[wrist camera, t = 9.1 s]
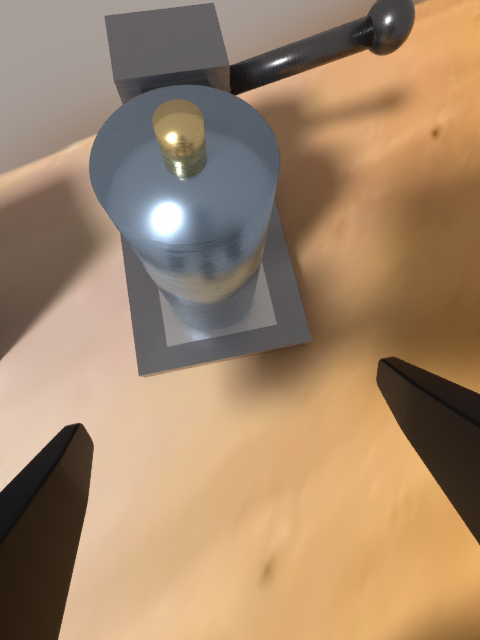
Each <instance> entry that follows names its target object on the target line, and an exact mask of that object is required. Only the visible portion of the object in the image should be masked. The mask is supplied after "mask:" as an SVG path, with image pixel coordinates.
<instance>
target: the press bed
mask: <svg viewBox="0 0 480 640" xmlns="http://www.w3.org/2000/svg"><path fill="white" fill-rule="evenodd" d="M414 20H415V7H414V3H413V1H412V0H377V1H376V3H375V4H374V5H373V6H372V8H371V10H370V11H369V13H368V15H367V16H366V17H363V18H360V19H357V20H355V21H352V22H349V23H346V24H344V25H341V26H338V27H335V28H333V29H330V30H327V31H324V32H322V33H319V34H316V35H314V36H311V37H308V38H305V39H302V40H300V41H297V42H294V43H291V44H288V45H286V46H283V47H280V48H277V49H275V50H272V51H269V52H266V53H264V54H261V55H258V56H255V57H253V58H250V59H247V60H244V61H242V62H239V63H236V64H233V65H231V66H230V65H229V61H228V57H227V53H226V50H225V45H224V42H223V38H222V34H221V30H220V26H219V22H218V18H217V14H216V10H215V6H214V3H209V4H200V5H192V6H183V7H176V8H167V9H159V10H151V11H142V12H133V13H125V14H117V15H108V16H105V22H106V29H107V35H108V42H109V50H110V57H111V64H112V71H113V78H114V82H115V85H116V88H117V90H118V93H119V95H120V98H121V101H122V103H123V105H124V104H125V103H127V102H128V101H130V100H131V99H133V98H135V97H137V96H139V95H141V94H143V93H146V92H148V91H151V90H154V89H158V88H162V87H167V86H173V85H201V86H208V87H212V88H216V89H220V90H223V91H225V92H228V93H231V94H233V95H235V96H236V95H238V94H241V93H244V92H247V91H250V90H253V89H256V88H258V87H261V86H264V85H267V84H270V83H273V82H276V81H279V80H281V79H284V78H287V77H290V76H293V75H296V74H299V73H302V72H304V71H307V70H310V69H313V68H316V67H319V66H322V65H325V64H327V63H330V62H333V61H336V60H339V59H342V58H345V57H348V56H350V55H353V54H356V53H359V52H362V51H365V50H369V51H370V52H372V53H373V54H375V55H380V56H384V55H388V54H390V53H393V52H394V51H396V50H397V49H398V48H400V47H401V46H402V45H403V43H404V42H405V41H406V39H407V38H408V36H409V34H410V33H411V30H412V28H413V24H414ZM120 234H121V233H120ZM121 242H122V250H123V257H124V265H125V273H126V280H127V288H128V296H129V303H130V311H131V319H132V326H133V334H134V342H135V349H136V357H137V365H138V372H139V376H142V377H148V376H153V375H158V374H162V373H167V372H172V371H177V370H182V369H187V368H192V367H196V366H201V365H206V364H211V363H216V362H221V361H226V360H231V359H235V358H240V357H245V356H250V355H255V354H260V353H265V352H270V351H274V350H279V349H284V348H289V347H294V346H299V345H304V344H308V343H309V342H311V341H312V338H311V334H310V330H309V327H308V323H307V319H306V315H305V311H304V308H303V304H302V300H301V296H300V293H299V289H298V285H297V281H296V277H295V274H294V270H293V266H292V262H291V258H290V255H289V251H288V247H287V243H286V240H285V236H284V232H283V228H282V224H281V221H280V217H279V213H278V209H277V205H276V202H275V198H274V202H273V206H272V211H271V216H270V221H269V226H268V231H267V236H266V241H265V246H264V251H263V256H262V261H261V265H260V270H259V275H258V280H257V285H256V290H255V295H254V299H253V302H252V304H251V306H250V308H249V310H248V311H247V312H246V314H245V315H244V316H243V317H242V318H241V319H240V320H238V321H237V322H235V323H234V324H232V325H230V326H228V327H225V328H221V329H215V330H206V329H200V328H196V327H194V326H191V325H189V324H187V323H186V322H184V321H183V320H182V319H181V318H180V317H179V316H178V315H177V314H176V313H175V312H174V310H173V309H172V307H171V306H170V304H169V303H168V301H167V300H166V298H165V297H164V296H163V294H162V293H161V291H160V290H159V288H158V287H157V285H156V284H155V282H154V281H153V279H152V278H151V277H150V275H149V274H148V272H147V271H146V269H145V268H144V266H143V265H142V263H141V262H140V261H139V259H138V258H137V256H136V255H135V253H134V252H133V250H132V249H131V247H130V246H129V244H128V243H127V242H126V240H125V239H124V237H123V236H122V234H121Z"/></svg>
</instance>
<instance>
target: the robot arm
mask: <svg viewBox="0 0 480 640" xmlns="http://www.w3.org/2000/svg"><path fill="white" fill-rule="evenodd" d="M376 381H377V385H378V387H379V389H380V391H381V393H382V395H383V397H384V398H385V400H386V402H387V404H388V406H389V408H390V410H391V411H392V413H393V415H394V417H395V419H396V421H397V423H398V424H399V426H400V428H401V430H402V431H403V433H404V434H405V436H406V437H407V439H408V440H409V442H410V443H411V445H412V446H413V448H414V449H415V451H416V452H417V453H418V455H419V456H420V458H421V459H422V461H423V462H424V464H425V465H426V467H427V468H428V470H429V471H430V473H431V474H432V476H433V477H434V478H435V480H436V481H437V483H438V484H439V486H440V487H441V489H442V490H443V492H444V493H445V495H446V496H447V498H448V499H449V501H450V502H451V503H452V505H453V506H454V508H455V509H456V511H457V512H458V514H459V515H460V517H461V518H462V520H463V521H464V523H465V524H466V526H467V527H468V528H469V530H470V531H471V533H472V534H473V536H474V537H475V539H476V540H477V542H478V543H479V545H480V394H479V393H476V392H474V391H472V390H469V389H467V388H465V387H462V386H460V385H458V384H456V383H453V382H451V381H449V380H446V379H444V378H442V377H440V376H437V375H435V374H433V373H430V372H428V371H426V370H424V369H421V368H419V367H417V366H414V365H412V364H410V363H408V362H405V361H403V360H401V359H398V358H396V357H387V358H382V359H380V360H379V363H378V370H377V377H376ZM93 451H94V445H93V441H92V439H91V437H90V436H89V434H88V432H87V430H86V429H85V427H84V426H83V424H81V423H76V424H71V425H67V426H65V427H64V428H63V429H62V430H61V431H60V432H59V433H58V434H57V435H56V436H55V437H54V438H53V439H52V440H51V441H50V442H49V443H48V444H47V445H46V446H45V447H44V448H43V449H42V450H41V451H40V452H39V453H38V454H37V455H36V456H35V457H34V458H33V459H32V460H31V461H30V462H29V464H28V465H27V466H26V467H25V468H24V469H23V470H22V471H21V472H20V473H19V474H18V475H17V476H16V477H15V478H14V479H13V480H12V481H11V482H10V483H9V484H8V485H7V486H6V487H5V488H4V489H3V490H2V491H1V492H0V640H58V637H59V633H60V628H61V624H62V619H63V614H64V610H65V605H66V601H67V596H68V591H69V587H70V582H71V578H72V573H73V568H74V564H75V559H76V555H77V550H78V545H79V541H80V536H81V532H82V527H83V522H84V518H85V513H86V508H87V503H88V496H89V488H90V478H91V469H92V460H93Z"/></svg>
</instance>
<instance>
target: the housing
mask: <svg viewBox="0 0 480 640" xmlns="http://www.w3.org/2000/svg"><path fill="white" fill-rule="evenodd" d="M279 170H280V154H279V148H278V144H277V141H276V138H275V136H274V134H273V132H272V130H271V128H270V126H269V125H268V123H267V122H266V120H265V119H264V118H263V117H262V116H261V115H260V113H259V112H258V111H257V110H255V109H254V108H253V107H252V106H251V105H250V104H248V103H247V102H245V101H244V100H242V99H241V98H239V97H237V96H235V95H233V94H231V93H228V92H225V91H223V90H220V89H216V88H212V87H208V86H201V85H173V86H167V87H162V88H158V89H154V90H151V91H148V92H146V93H143V94H141V95H139V96H137V97H135V98H133V99H131V100H130V101H128V102H127V103H125V104H124V105H122V106H121V107H120V108H119V109H117V110H116V111H115V112H114V113H113V114H112V115H111V116H110V117H109V118H108V119H107V121H106V122H105V123H104V124H103V126H102V127H101V129H100V130H99V132H98V134H97V136H96V138H95V140H94V143H93V146H92V149H91V154H90V160H89V172H90V179H91V183H92V186H93V190H94V192H95V194H96V196H97V198H98V200H99V202H100V204H101V205H102V207H103V208H104V209H105V211H106V212H107V214H108V215H109V217H110V218H111V220H112V221H113V223H114V224H115V226H116V227H117V228H118V230H119V231H120V233H121V234H122V236H123V237H124V239H125V240H126V242H127V243H128V244H129V246H130V247H131V249H132V250H133V252H134V253H135V255H136V256H137V258H138V259H139V261H140V262H141V263H142V265H143V266H144V268H145V269H146V271H147V272H148V274H149V275H150V277H151V278H152V279H153V281H154V282H155V284H156V285H157V287H158V288H159V290H160V291H161V293H162V294H163V296H164V297H165V298H166V300H167V301H168V303H169V304H170V306H171V307H172V309H173V310H174V312H175V313H176V314H177V315H178V316H179V317H180V318H181V319H182V320H183V321H184V322H186V323H187V324H189V325H191V326H194V327H196V328H200V329H206V330H215V329H221V328H225V327H228V326H230V325H232V324H234V323H235V322H237V321H238V320H240V319H241V318H242V317H243V316H244V315H245V314H246V312H247V311H248V310H249V308H250V306H251V304H252V302H253V299H254V295H255V290H256V285H257V280H258V275H259V270H260V265H261V261H262V256H263V251H264V246H265V241H266V236H267V231H268V226H269V221H270V216H271V211H272V206H273V202H274V197H275V192H276V187H277V182H278V177H279Z"/></svg>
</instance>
